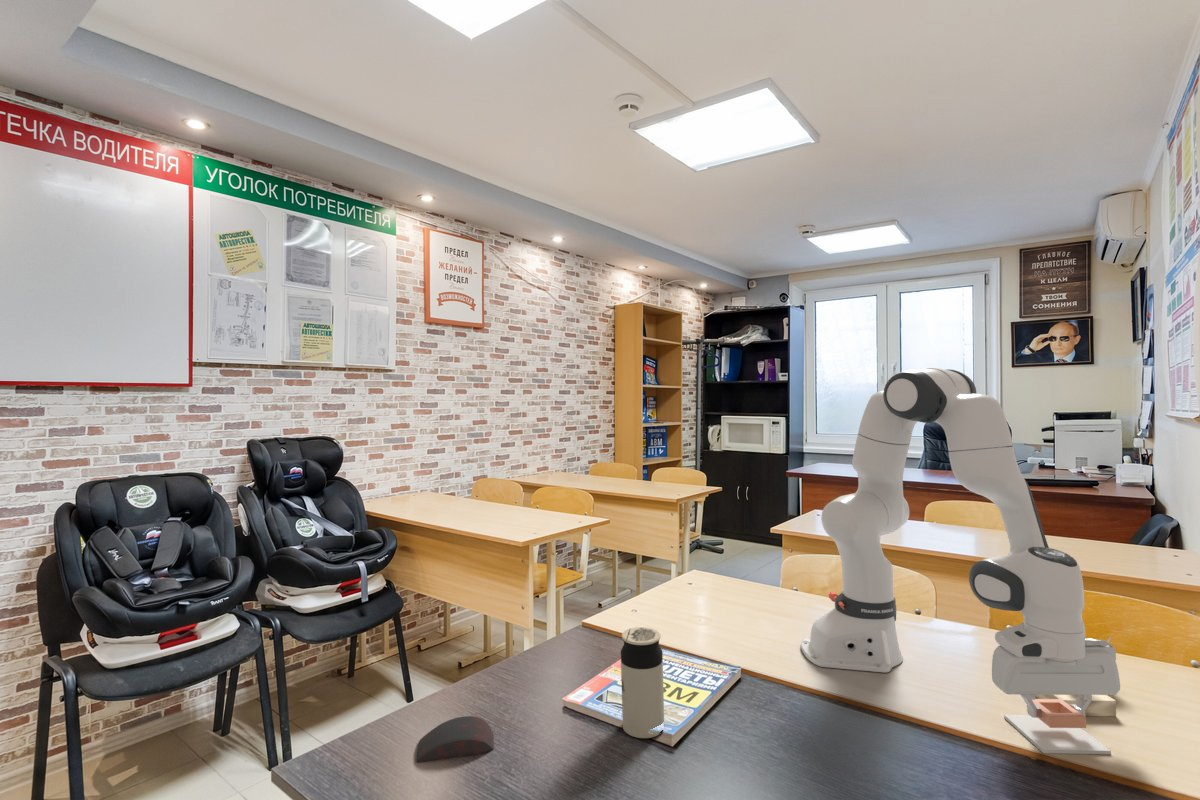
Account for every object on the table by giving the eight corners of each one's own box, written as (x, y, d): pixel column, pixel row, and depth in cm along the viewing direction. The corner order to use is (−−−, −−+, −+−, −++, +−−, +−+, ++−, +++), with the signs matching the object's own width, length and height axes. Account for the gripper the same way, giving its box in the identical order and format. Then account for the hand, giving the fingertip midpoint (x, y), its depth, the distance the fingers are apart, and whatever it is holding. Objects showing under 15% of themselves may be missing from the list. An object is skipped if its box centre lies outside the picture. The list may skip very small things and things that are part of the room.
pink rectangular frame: (1050, 727, 103) (1050, 716, 103) (1027, 709, 109) (1027, 698, 109) (1086, 728, 103) (1085, 716, 103) (1061, 709, 109) (1061, 699, 109)
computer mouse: (494, 755, 105) (493, 733, 105) (415, 767, 103) (414, 745, 103) (493, 730, 113) (492, 710, 113) (419, 741, 111) (419, 720, 110)
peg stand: (1061, 715, 112) (1060, 676, 112) (1026, 689, 122) (1026, 653, 122) (1116, 716, 112) (1115, 677, 112) (1077, 689, 122) (1076, 653, 122)
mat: (1043, 753, 101) (1043, 749, 101) (1004, 717, 112) (1004, 714, 112) (1110, 754, 100) (1110, 750, 100) (1064, 718, 111) (1064, 715, 111)
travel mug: (668, 719, 115) (666, 628, 114) (659, 743, 107) (656, 645, 107) (629, 713, 117) (626, 624, 117) (617, 736, 110) (614, 640, 110)
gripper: (1100, 632, 108) (1102, 707, 109) (985, 633, 110) (987, 706, 110) (1129, 647, 102) (1131, 726, 102) (1006, 647, 104) (1008, 725, 104)
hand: (1055, 716), depth 106 cm, fingers closed on pink rectangular frame, 6 cm apart
